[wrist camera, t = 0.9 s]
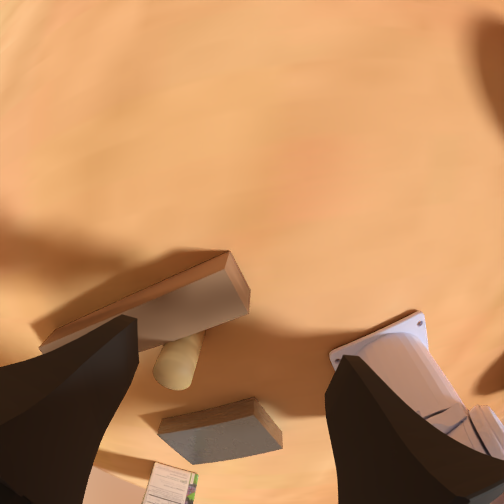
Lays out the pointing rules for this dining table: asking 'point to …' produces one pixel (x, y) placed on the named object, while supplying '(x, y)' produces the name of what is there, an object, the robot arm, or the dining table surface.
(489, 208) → the dining table surface
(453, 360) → the dining table surface
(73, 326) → the bench dog strip
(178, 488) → the syrup box
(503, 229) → the dining table surface
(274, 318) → the dining table surface
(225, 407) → the steel plate
